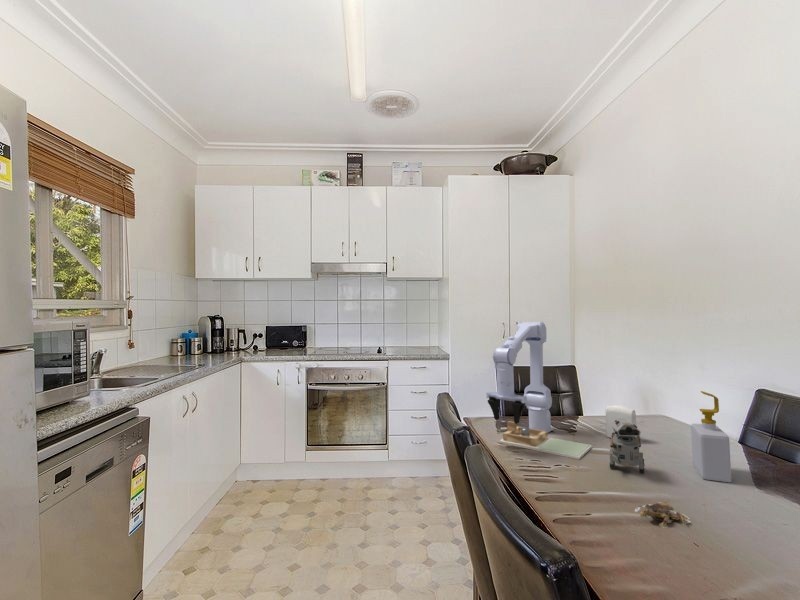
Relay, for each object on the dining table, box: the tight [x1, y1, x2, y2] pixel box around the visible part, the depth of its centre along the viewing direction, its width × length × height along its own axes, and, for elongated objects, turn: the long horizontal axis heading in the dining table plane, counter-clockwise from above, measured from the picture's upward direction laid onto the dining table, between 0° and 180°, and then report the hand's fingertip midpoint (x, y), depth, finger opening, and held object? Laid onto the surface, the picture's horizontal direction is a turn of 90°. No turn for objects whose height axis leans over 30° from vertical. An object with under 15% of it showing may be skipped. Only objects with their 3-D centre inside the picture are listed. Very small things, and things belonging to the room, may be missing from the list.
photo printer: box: [605, 404, 637, 439], centre depth 147 cm, size 10×4×12 cm, turn 39°
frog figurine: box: [634, 501, 691, 529], centre depth 91 cm, size 12×12×4 cm
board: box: [498, 434, 593, 460], centre depth 142 cm, size 14×28×1 cm, turn 49°
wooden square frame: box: [502, 420, 549, 447], centre depth 147 cm, size 12×13×6 cm
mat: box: [539, 437, 591, 456], centre depth 138 cm, size 13×13×1 cm
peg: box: [521, 426, 530, 437], centre depth 147 cm, size 3×3×4 cm
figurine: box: [609, 419, 646, 475], centre depth 118 cm, size 9×12×15 cm
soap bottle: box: [690, 390, 732, 483], centre depth 115 cm, size 12×7×23 cm, turn 155°
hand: (506, 421), depth 139 cm, fingers open, 7 cm apart
